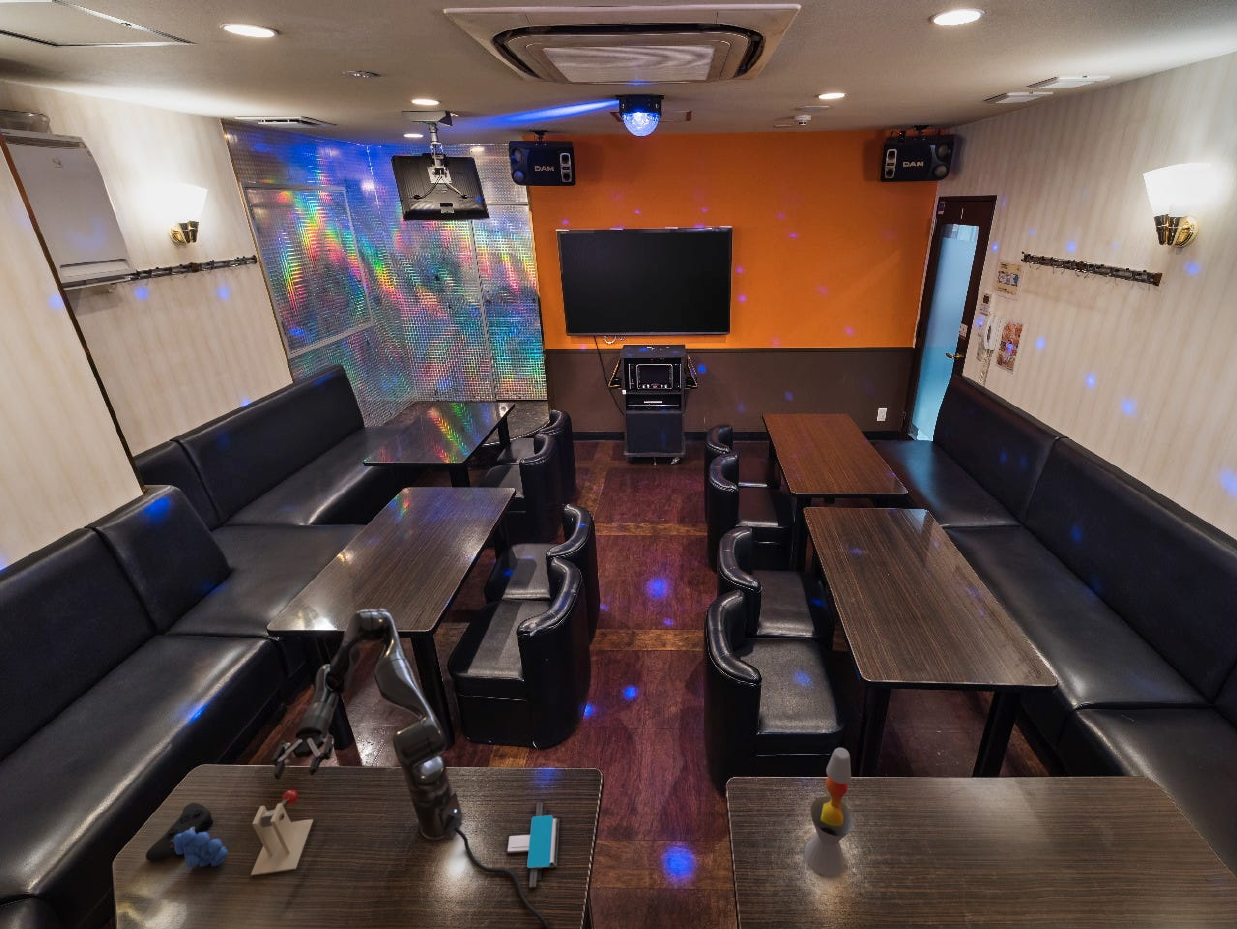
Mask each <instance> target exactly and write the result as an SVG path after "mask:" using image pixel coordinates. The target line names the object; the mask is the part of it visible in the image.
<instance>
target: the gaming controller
mask: <svg viewBox="0 0 1237 929" xmlns="http://www.w3.org/2000/svg"><path fill="white" fill-rule="evenodd" d="M213 824H214V820H213V818H212V813H211V811H210V810H209V809H208V808H207V807H205V806H204V805H203V804H201V803H198V802H190V803H189V804H187V805H185V806H184V808H183V809H182V813H181V814H180V815H179V817H178V818H177V820H175V822H174V823H173V824H172V826H170V828H169V829H168V830H167V831H166V833H165V834H164V835H163V836H162V837H161V838H159V839H158V840H157V841H156V842H154V844H152V846H150V847H149V849H147V851H146V853H145V859H146V860H147V861H148V862H157V861H161V860H165V859H169V858H182V857H185V855H184V854H178V855H177V853H176V852H175V845H174V843H173V838H174V836H175V835H177V834H180V833H183V832H184V831H186V830H192V829H194V831H195V832H196V835H197V834H198V833H200V831H201V830H202V828H204V826H205V827H208V826H211V825H213Z"/></svg>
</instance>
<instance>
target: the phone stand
mask: <svg viewBox="0 0 1237 929" xmlns="http://www.w3.org/2000/svg"><path fill="white" fill-rule="evenodd" d="M535 808H536V809H535V816H532V817H531V822H530V823H531V824H530V833H529V834H520V835H509V838H508V844H507V854H514V853H528V854H527V861H526V862H527V864H526V867H527V868H528V869H530V870H529V883H528V884H529V885H528V889H537V881H542V875H543V869H551V868H552V869H553V868H558V858H559V840H560V839H559V838H560V837H559V836H560V820H561V818H560V817H554V815H552V814H548V815H547V809H544V801H543V802H540V801H539V802H536V807H535Z"/></svg>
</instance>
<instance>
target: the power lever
mask: <svg viewBox="0 0 1237 929" xmlns="http://www.w3.org/2000/svg"><path fill="white" fill-rule="evenodd" d="M298 798H299V793H298V791H297V790H295V789H288V790H286V791H285V792H284V793H283V794H282V797H281V802H280V803H282V804H283V807H284V808H286V807H290V806H293V805H294V804H295V803H296V802H297V801H298ZM275 809H276V807H275V808H274V809H271V810H270V809H269V810H267V812H266V813H265V814H264V815H263V816H262V827H268V826H272V824H271V822H270V821H271V818H272V816H273V814H274V811H275Z"/></svg>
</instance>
